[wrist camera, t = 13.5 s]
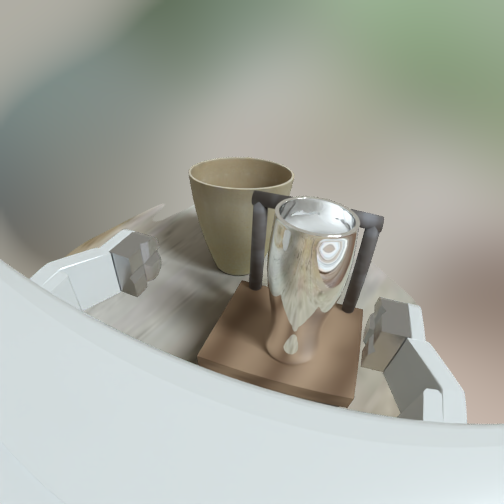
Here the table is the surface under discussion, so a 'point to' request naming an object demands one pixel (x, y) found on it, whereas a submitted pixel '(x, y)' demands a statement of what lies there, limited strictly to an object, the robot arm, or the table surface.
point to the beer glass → (306, 273)
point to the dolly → (258, 317)
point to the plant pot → (234, 205)
